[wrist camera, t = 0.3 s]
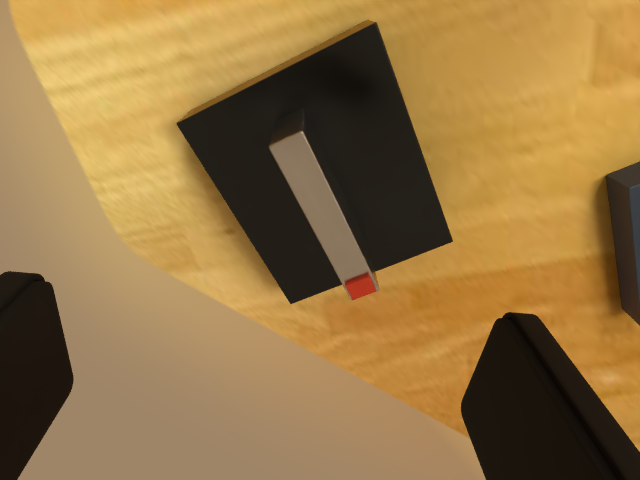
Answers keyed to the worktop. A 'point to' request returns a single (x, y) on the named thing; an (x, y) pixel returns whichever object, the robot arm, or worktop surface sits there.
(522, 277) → the worktop surface
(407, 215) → the base
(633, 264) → the red push button box
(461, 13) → the worktop surface
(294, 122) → the silver lever handle
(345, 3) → the worktop surface
